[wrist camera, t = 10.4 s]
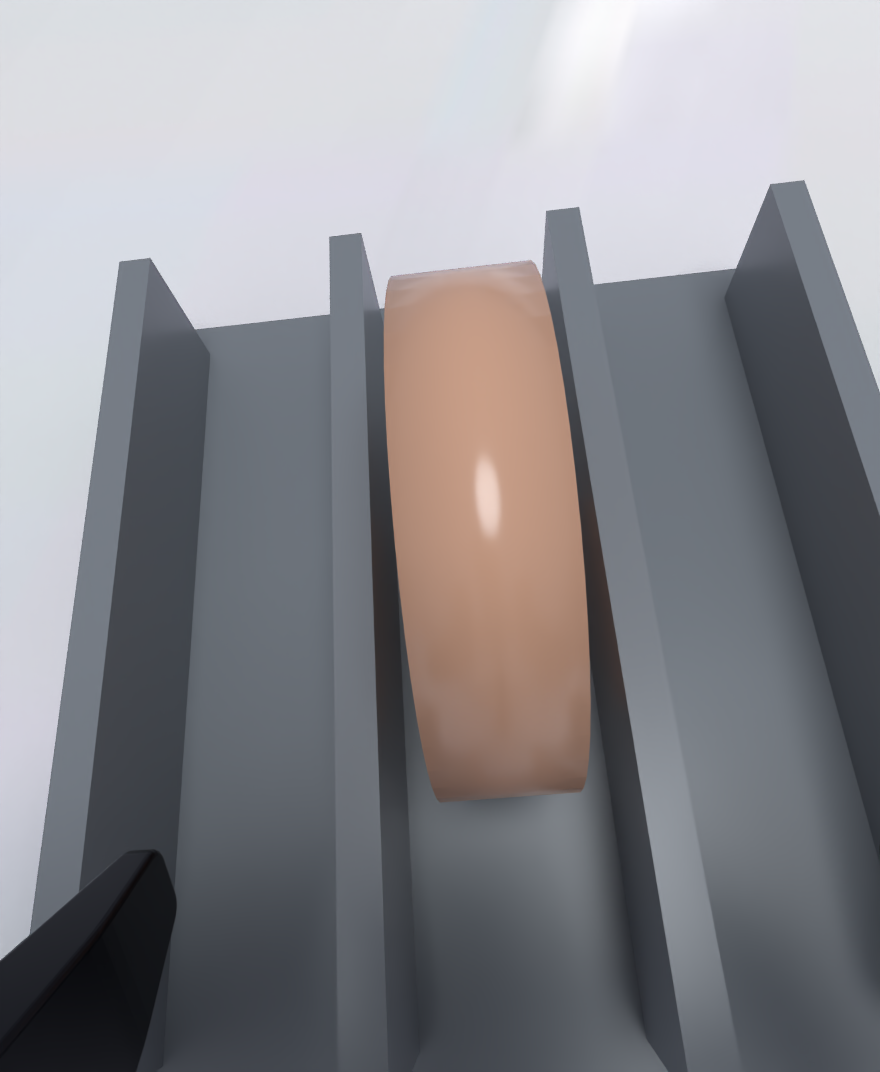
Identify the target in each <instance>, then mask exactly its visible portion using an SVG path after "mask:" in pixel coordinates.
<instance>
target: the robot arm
mask: <svg viewBox="0 0 880 1072" xmlns="http://www.w3.org/2000/svg"><path fill="white" fill-rule="evenodd" d="M879 855H880V843H879ZM176 912H177V898H176V893H175V890H174V887H173V884H172V881H171V878H170V875H169V872H168V869H167V866H166V863H165V860H164V857H163V855H162V853H161V852H160V851H158V850H155V849H147V850H133V851H128V852H126V853H124V854H123V855H121V856H120V857H119V858H118V859H116V860H115V861H114V862H113V863H112V864H111V865H109V866H108V867H107V868H106V869H105V870H104V871H103V872H101V873H100V874H99V875H98V876H97V877H96V878H95V879H93V880H92V881H91V882H90V883H89V884H88V885H86V886H85V887H84V888H83V889H82V890H81V891H80V892H78V893H77V894H76V895H75V896H74V897H73V898H72V899H70V900H69V901H68V902H67V903H66V904H65V905H63V906H62V907H61V908H60V909H59V910H58V911H57V912H55V913H54V914H53V915H52V916H51V917H50V918H49V919H47V920H46V921H45V922H44V923H43V924H42V925H40V926H39V927H38V928H37V929H36V930H35V931H34V932H32V933H31V934H30V935H29V936H28V937H27V938H26V939H24V940H23V941H22V942H21V943H20V944H19V945H17V946H16V947H15V948H14V949H13V950H12V951H11V952H9V953H8V954H7V955H6V956H5V957H4V958H3V959H1V960H0V1072H136V1071H137V1068H138V1065H139V1062H140V1059H141V1055H142V1052H143V1049H144V1046H145V1042H146V1039H147V1035H148V1031H149V1027H150V1023H151V1019H152V1015H153V1011H154V1007H155V1002H156V998H157V994H158V990H159V985H160V981H161V977H162V973H163V969H164V964H165V960H166V956H167V952H168V948H169V943H170V939H171V935H172V931H173V927H174V922H175V918H176Z"/></svg>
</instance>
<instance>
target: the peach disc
mask: <svg viewBox="0 0 880 1072" xmlns="http://www.w3.org/2000/svg"><path fill="white" fill-rule="evenodd" d="M384 386H385V412H386V432H387V450H388V464H389V479H390V493H391V505H392V517H393V528H394V540H395V550H396V560H397V570H398V580H399V590H400V598H401V607H402V616H403V624H404V633H405V641H406V648H407V655H408V663H409V670H410V678H411V684H412V691H413V697H414V704H415V710H416V716H417V722H418V727H419V733H420V738H421V744H422V749H423V754H424V758H425V763H426V767H427V772H428V775H429V779H430V782H431V786H432V789H433V791H434V794H435V796H436V799H437V800H438V801H439V802H454V801H467V800H481V799H495V798H509V797H523V796H537V795H550V794H564V793H578V792H581V791H582V790H583V788H584V785H585V781H586V778H587V771H588V763H589V749H590V715H591V696H590V656H589V633H588V614H587V598H586V583H585V569H584V557H583V545H582V533H581V522H580V512H579V502H578V492H577V483H576V473H575V465H574V457H573V448H572V440H571V432H570V424H569V417H568V410H567V403H566V396H565V389H564V382H563V376H562V371H561V365H560V359H559V353H558V347H557V342H556V337H555V332H554V327H553V322H552V317H551V312H550V308H549V304H548V300H547V296H546V292H545V289H544V285H543V282H542V279H541V276H540V273H539V271H538V269H537V267H536V265H535V264H534V263H533V262H532V261H531V260H529V261H520V262H511V263H502V264H493V265H485V266H476V267H467V268H458V269H449V270H441V271H432V272H423V273H414V274H405V275H397V276H391V277H390V279H389V281H388V285H387V290H386V298H385V309H384Z"/></svg>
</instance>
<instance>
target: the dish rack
mask: <svg viewBox="0 0 880 1072" xmlns="http://www.w3.org/2000/svg"><path fill="white" fill-rule="evenodd" d="M329 243H330V315H321V316H312V317H303V318H295V319H286V320H277V321H268V322H259V323H250V324H241V325H233V326H224V327H215V328H206V329H197V330H195V329H194V327H193V326H192V324H191V323H190V321H189V319H188V318H187V316H186V315H185V313H184V311H183V310H182V308H181V307H180V305H179V303H178V302H177V300H176V299H175V297H174V295H173V294H172V292H171V291H170V289H169V287H168V286H167V284H166V283H165V281H164V279H163V278H162V276H161V275H160V273H159V271H158V270H157V268H156V267H155V265H154V263H153V262H152V260H151V259H150V258H147V259H139V260H130V261H122V262H119V270H118V277H117V285H116V292H115V300H114V307H113V315H112V322H111V330H110V337H109V345H108V352H107V360H106V367H105V375H104V382H103V390H102V397H101V405H100V412H99V420H98V427H97V435H96V442H95V450H94V457H93V465H92V472H91V480H90V487H89V494H88V502H87V509H86V517H85V524H84V532H83V539H82V547H81V554H80V562H79V569H78V577H77V584H76V592H75V599H74V607H73V614H72V622H71V629H70V637H69V644H68V652H67V659H66V667H65V674H64V682H63V689H62V697H61V704H60V712H59V719H58V727H57V734H56V742H55V749H54V757H53V764H52V772H51V779H50V787H49V794H48V802H47V809H46V817H45V824H44V832H43V839H42V847H41V854H40V861H39V869H38V876H37V884H36V891H35V899H34V906H33V914H32V921H31V929H30V934H31V933H32V932H34V931H35V930H36V929H37V928H38V927H39V926H40V925H42V924H43V923H44V922H45V921H46V920H47V919H49V918H50V917H51V916H52V915H53V914H54V913H55V912H57V911H58V910H59V909H60V908H61V907H62V906H63V905H65V904H66V903H67V902H68V901H69V900H70V899H72V898H73V897H74V896H75V895H76V894H77V893H78V892H80V891H81V890H82V889H83V888H84V887H85V886H86V885H88V884H89V883H90V882H91V881H92V880H93V879H95V878H96V877H97V876H98V875H99V874H100V873H101V872H103V871H104V870H105V869H106V868H107V867H108V866H109V865H111V864H112V863H113V862H114V861H115V860H116V859H118V858H119V857H120V856H121V855H123V854H124V853H126V852H128V851H133V850H147V849H155V850H158V851H160V852H161V853H162V855H163V857H164V860H165V863H166V866H167V869H168V872H169V875H170V878H171V881H172V884H173V887H174V890H175V893H176V898H177V912H176V918H175V922H174V927H173V931H172V935H171V939H170V943H169V948H168V952H167V956H166V960H165V964H164V969H163V973H162V977H161V981H160V985H159V990H158V994H157V998H156V1002H155V1007H154V1011H153V1015H152V1019H151V1023H150V1027H149V1031H148V1035H147V1039H146V1042H145V1046H144V1049H143V1052H142V1055H141V1059H140V1062H139V1065H138V1068H137V1071H136V1072H880V855H879V843H880V392H879V389H878V386H877V383H876V381H875V378H874V375H873V372H872V369H871V367H870V364H869V361H868V358H867V355H866V353H865V350H864V347H863V344H862V341H861V338H860V336H859V333H858V330H857V327H856V324H855V322H854V319H853V316H852V313H851V310H850V308H849V305H848V302H847V299H846V296H845V293H844V291H843V288H842V285H841V282H840V279H839V277H838V274H837V271H836V268H835V265H834V263H833V260H832V257H831V254H830V251H829V248H828V246H827V243H826V240H825V237H824V234H823V232H822V229H821V226H820V223H819V220H818V217H817V215H816V212H815V209H814V206H813V203H812V201H811V198H810V195H809V192H808V189H807V187H806V184H805V181H804V180H803V181H795V182H786V183H778V184H770V187H769V189H768V192H767V194H766V197H765V199H764V201H763V204H762V206H761V209H760V211H759V214H758V216H757V219H756V221H755V224H754V226H753V228H752V231H751V233H750V236H749V238H748V241H747V243H746V246H745V248H744V251H743V253H742V255H741V258H740V260H739V263H738V265H737V268H736V269H728V270H719V271H711V272H702V273H693V274H684V275H675V276H666V277H658V278H649V279H640V280H631V281H622V282H613V283H604V284H596V285H594V284H593V279H592V273H591V268H590V263H589V258H588V252H587V247H586V242H585V236H584V231H583V226H582V220H581V215H580V210H579V207H576V208H568V209H559V210H551V211H546V223H545V239H544V255H543V271H542V282H543V285H544V289H545V292H546V296H547V300H548V304H549V308H550V312H551V317H552V322H553V327H554V332H555V337H556V342H557V347H558V353H559V359H560V365H561V371H562V376H563V382H564V389H565V396H566V403H567V410H568V417H569V424H570V432H571V440H572V448H573V457H574V465H575V473H576V483H577V492H578V502H579V512H580V522H581V533H582V545H583V557H584V569H585V583H586V598H587V614H588V633H589V656H590V696H591V715H590V749H589V763H588V771H587V778H586V781H585V785H584V788H583V790H582V791H581V792H578V793H564V794H550V795H537V796H523V797H509V798H495V799H481V800H467V801H454V802H439V801H438V800H437V799H436V796H435V794H434V791H433V789H432V786H431V782H430V779H429V775H428V772H427V767H426V763H425V758H424V754H423V749H422V744H421V738H420V733H419V727H418V722H417V716H416V710H415V704H414V697H413V691H412V684H411V678H410V670H409V663H408V655H407V648H406V641H405V633H404V624H403V616H402V607H401V598H400V590H399V580H398V570H397V560H396V550H395V540H394V528H393V517H392V505H391V493H390V479H389V464H388V450H387V432H386V412H385V386H384V309H385V308H383V309H380V308H379V304H378V300H377V296H376V292H375V288H374V284H373V280H372V275H371V271H370V267H369V263H368V259H367V255H366V251H365V247H364V243H363V239H362V235H361V233H357V234H349V235H341V236H332V237H329Z"/></svg>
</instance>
